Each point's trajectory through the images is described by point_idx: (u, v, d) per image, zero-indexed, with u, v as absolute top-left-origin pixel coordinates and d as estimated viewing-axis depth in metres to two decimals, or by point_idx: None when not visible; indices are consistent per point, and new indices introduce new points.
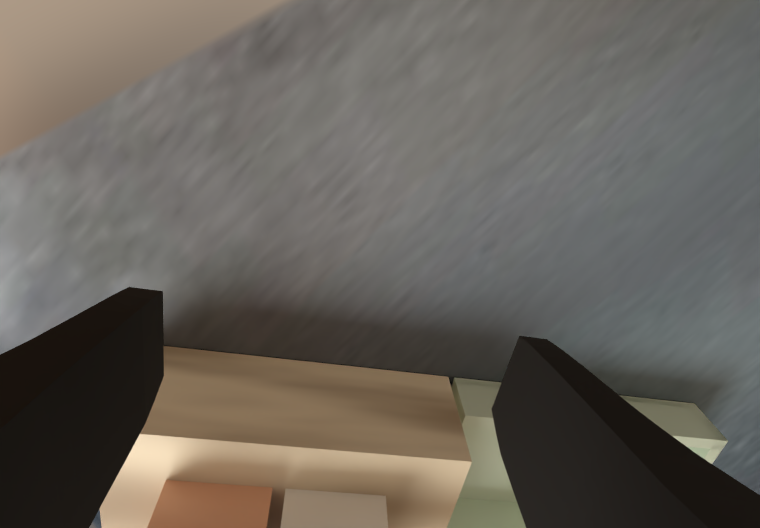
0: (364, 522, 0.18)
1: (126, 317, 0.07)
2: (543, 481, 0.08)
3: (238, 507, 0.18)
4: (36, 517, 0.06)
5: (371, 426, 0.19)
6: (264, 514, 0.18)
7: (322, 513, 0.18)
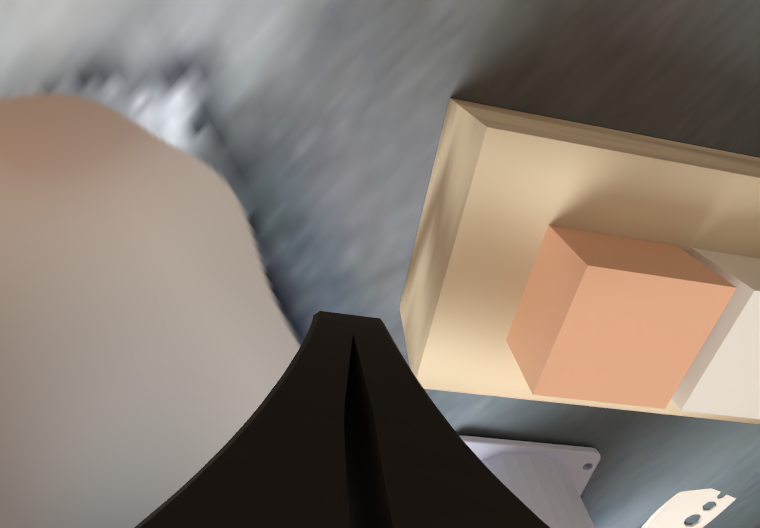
0: None
1: (349, 343, 0.08)
2: None
3: (659, 253, 0.13)
4: None
5: None
6: (697, 262, 0.13)
7: None
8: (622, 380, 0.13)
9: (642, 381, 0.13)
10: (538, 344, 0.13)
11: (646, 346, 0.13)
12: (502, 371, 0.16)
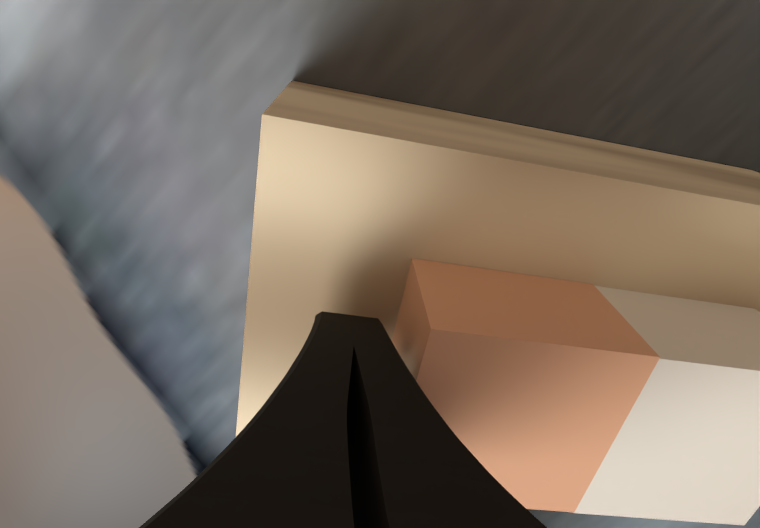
0: None
1: (351, 343, 0.08)
2: None
3: (561, 300, 0.09)
4: None
5: (719, 185, 0.11)
6: (613, 312, 0.09)
7: (682, 319, 0.10)
8: (508, 478, 0.09)
9: (537, 480, 0.09)
10: None
11: (537, 435, 0.09)
12: None
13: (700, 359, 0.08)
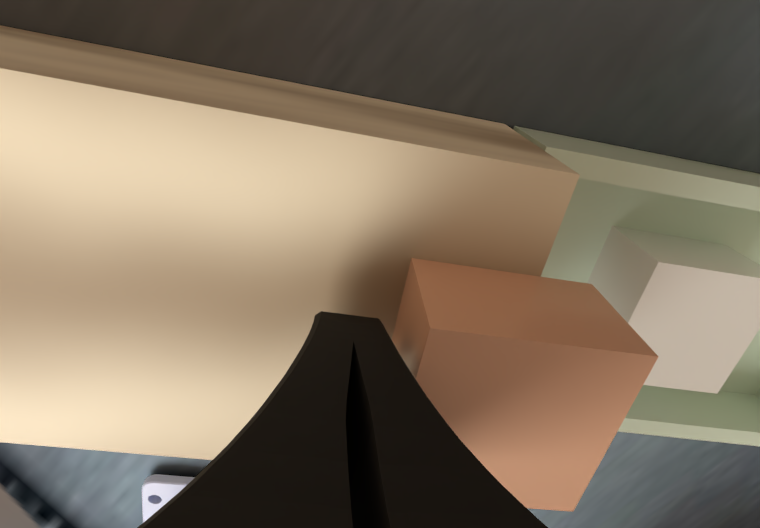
0: (662, 247, 0.14)
1: (350, 343, 0.08)
2: None
3: (560, 300, 0.09)
4: None
5: (374, 123, 0.10)
6: (612, 312, 0.09)
7: (717, 259, 0.14)
8: (507, 478, 0.09)
9: (536, 478, 0.09)
10: None
11: (536, 435, 0.09)
12: (2, 409, 0.11)
13: (704, 242, 0.15)
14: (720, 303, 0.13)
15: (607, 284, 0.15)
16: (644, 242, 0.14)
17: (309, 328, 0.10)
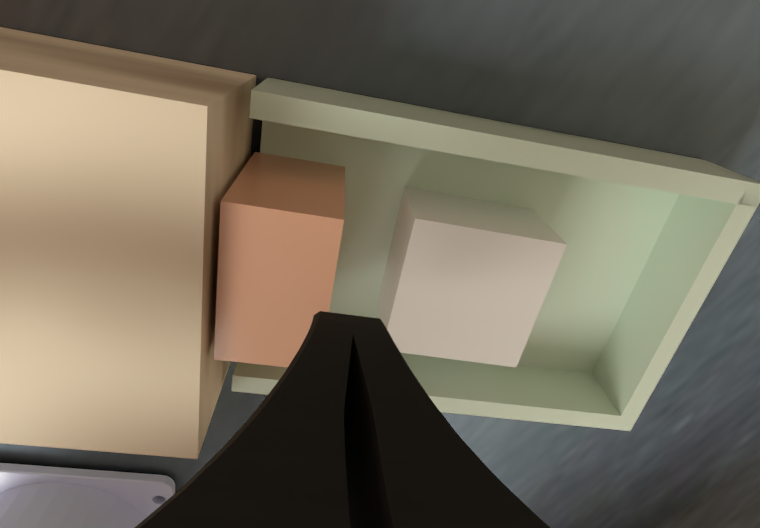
0: (442, 206, 0.13)
1: (349, 343, 0.08)
2: None
3: (284, 168, 0.12)
4: None
5: (8, 55, 0.09)
6: (296, 159, 0.13)
7: (500, 220, 0.13)
8: None
9: None
10: (298, 327, 0.11)
11: None
12: None
13: (506, 206, 0.14)
14: (495, 266, 0.12)
15: (395, 248, 0.14)
16: (424, 202, 0.13)
17: None
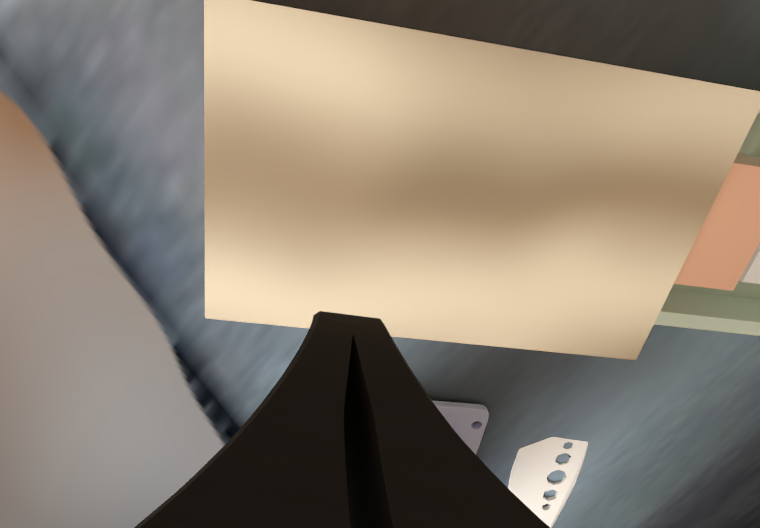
0: None
1: (349, 343, 0.08)
2: None
3: None
4: None
5: None
6: None
7: None
8: None
9: None
10: (733, 255, 0.15)
11: None
12: (301, 297, 0.14)
13: None
14: None
15: None
16: None
17: (545, 225, 0.14)
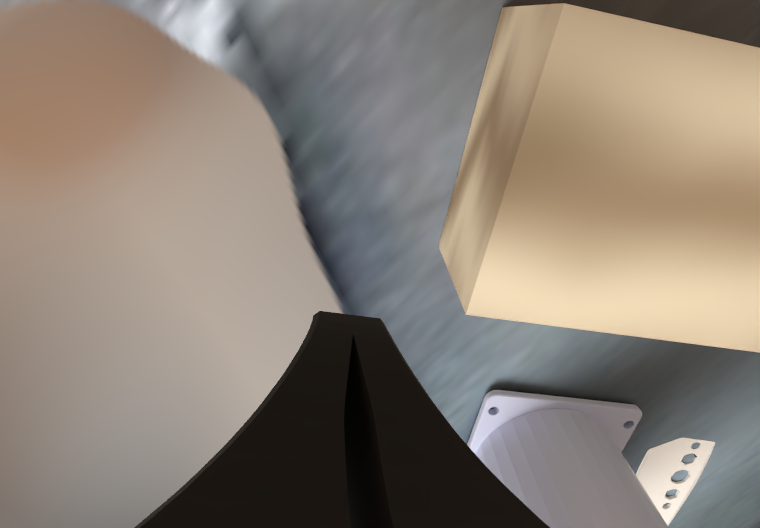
0: None
1: (349, 343, 0.08)
2: None
3: None
4: None
5: None
6: None
7: None
8: None
9: None
10: None
11: None
12: (561, 297, 0.15)
13: None
14: None
15: None
16: None
17: None
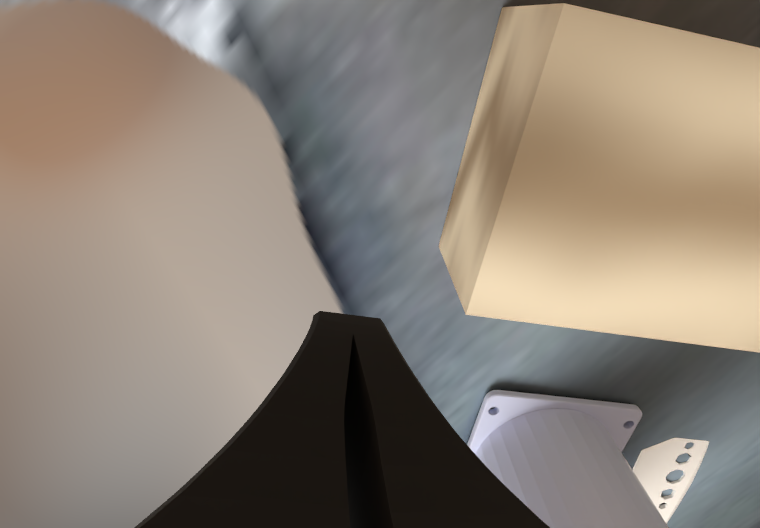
0: None
1: (349, 343, 0.08)
2: None
3: None
4: None
5: None
6: None
7: None
8: None
9: None
10: None
11: None
12: (561, 297, 0.15)
13: None
14: None
15: None
16: None
17: None
